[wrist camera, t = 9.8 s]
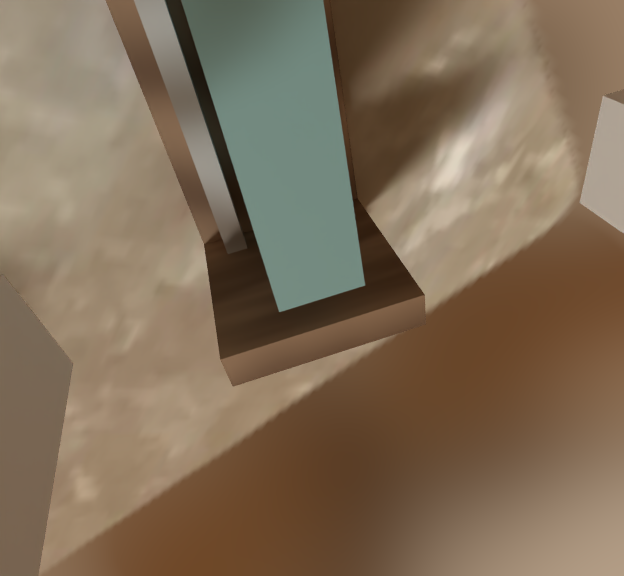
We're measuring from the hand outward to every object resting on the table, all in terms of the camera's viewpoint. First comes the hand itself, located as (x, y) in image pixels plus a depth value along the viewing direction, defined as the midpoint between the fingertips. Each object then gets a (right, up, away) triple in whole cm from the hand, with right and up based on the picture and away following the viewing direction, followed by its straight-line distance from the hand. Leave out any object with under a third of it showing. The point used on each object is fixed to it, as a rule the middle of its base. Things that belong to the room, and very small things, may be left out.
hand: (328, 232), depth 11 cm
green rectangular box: (-4, +10, +13) cm, 17 cm away
